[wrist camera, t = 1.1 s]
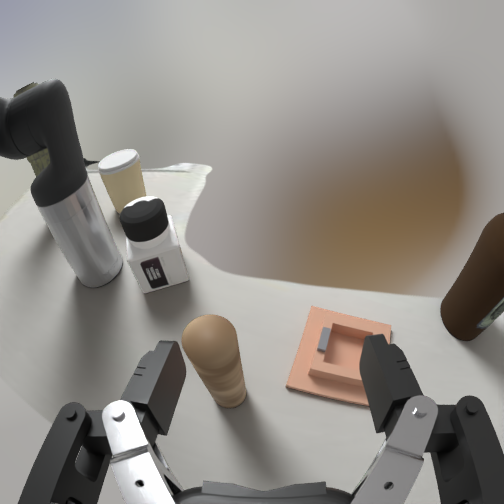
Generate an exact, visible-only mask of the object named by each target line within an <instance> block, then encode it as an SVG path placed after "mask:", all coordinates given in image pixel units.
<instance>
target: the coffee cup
mask: <svg viewBox="0 0 504 504" xmlns="http://www.w3.org/2000/svg"><path fill="white" fill-rule="evenodd" d="M98 172H99V173H100V175H101V178H102V180H103V183H104V185H105V187H106V190H107V192H108V194H109V196H110V199H111V201H112V203H113V205H114V207H115V209H116V211H117V212H118V213H119V214H121V212H122V210H123V208H124V207H125V206H126V205H127V204H129V203H130V202H132V201H134V200H136V199H138V198H141V197H146V192H145V187H144V182H143V176H142V171H141V166H140V161H139V154H138V153H137V151H136V150H133V149H125V150H121V151H117V152H115V153H112V154H110V155H108V156H107V157H105V158H104V159H103V160H101V161H100V163H99V165H98Z"/></svg>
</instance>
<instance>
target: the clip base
mask: <svg viewBox="0 0 504 504" xmlns="http://www.w3.org/2000/svg"><path fill="white" fill-rule="evenodd" d="M390 333H391V325H388V324H383V323H379V322H375V321H370V320H366V319H362V318H358V317H354V316H350V315H346V314H342V313H338V312H334V311H330V310H326V309H322V308H318V307H314V306H311V309H310V313H309V316H308V320H307V323H306V326H305V329H304V333H303V336H302V339H301V342H300V345H299V348H298V352H297V355H296V358H295V361H294V364H293V367H292V370H291V372H290V375H289V378H288V381H287V384H286V387H288V388H292V389H295V390H299V391H303V392H306V393H310V394H314V395H318V396H322V397H327V398H331V399H335V400H340V401H345V402H349V403H354V404H360V405H365V406H369V403H368V399H367V396H366V392H365V389H364V385H363V382H362V379H361V375H360V370H359V362H360V357H361V353H362V348H363V344H364V339H365V337H366V336H368V335H376V334H384V336H385V338H386V340H387V342H388V344H389V343H390Z"/></svg>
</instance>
